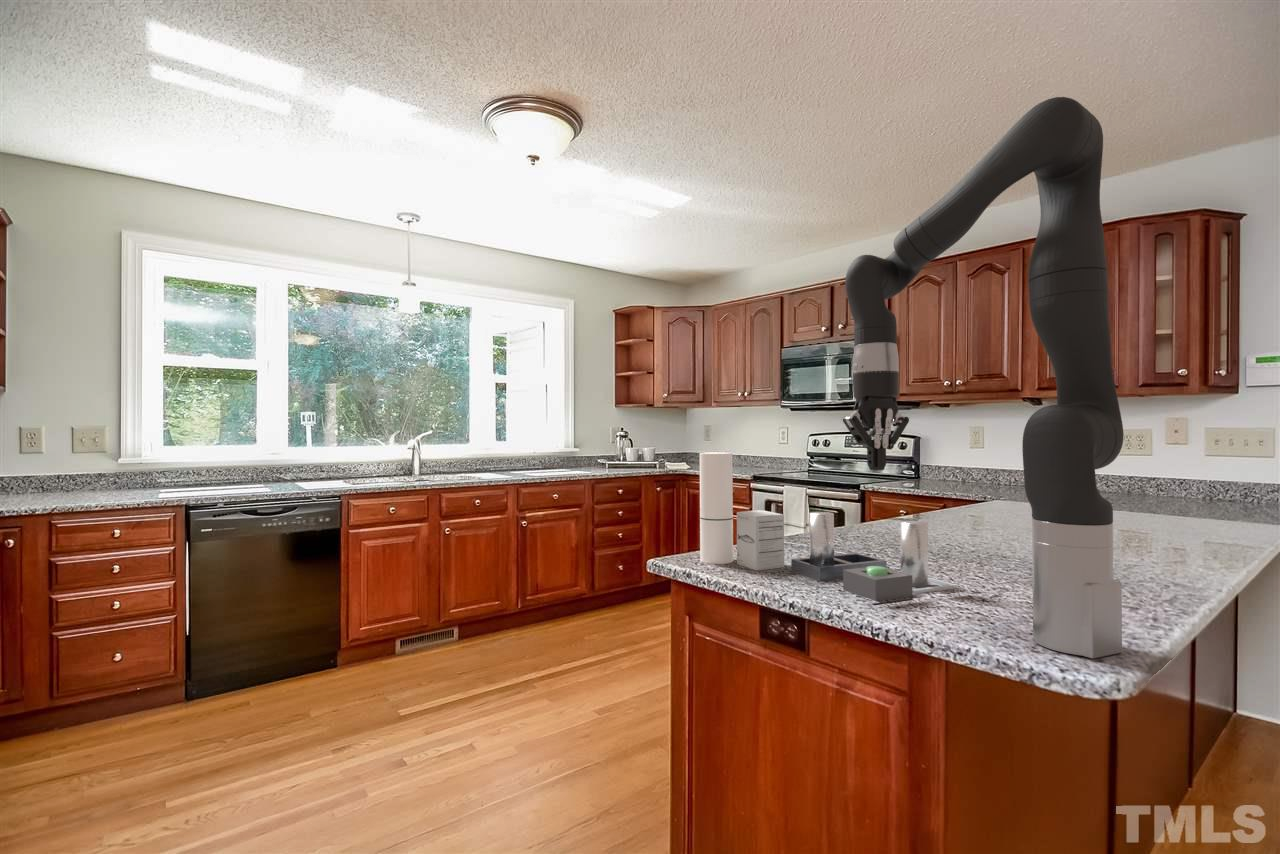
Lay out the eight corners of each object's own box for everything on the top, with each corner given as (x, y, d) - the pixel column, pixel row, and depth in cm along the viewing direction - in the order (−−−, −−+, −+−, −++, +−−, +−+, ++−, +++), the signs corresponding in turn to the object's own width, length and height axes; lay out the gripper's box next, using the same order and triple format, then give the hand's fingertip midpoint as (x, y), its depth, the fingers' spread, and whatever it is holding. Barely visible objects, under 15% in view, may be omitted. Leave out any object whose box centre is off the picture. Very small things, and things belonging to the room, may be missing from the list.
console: (912, 604, 107) (912, 575, 107) (875, 609, 104) (875, 579, 104) (878, 593, 114) (878, 566, 114) (843, 598, 111) (843, 569, 111)
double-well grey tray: (886, 581, 123) (886, 561, 123) (820, 589, 117) (819, 568, 117) (855, 571, 132) (855, 552, 132) (791, 578, 126) (791, 559, 126)
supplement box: (735, 570, 134) (735, 511, 134) (764, 567, 137) (763, 509, 137) (756, 578, 127) (755, 515, 127) (785, 574, 130) (785, 513, 130)
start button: (891, 586, 108) (891, 569, 108) (876, 588, 107) (876, 570, 107) (877, 582, 111) (877, 565, 111) (862, 584, 110) (862, 567, 110)
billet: (933, 589, 114) (933, 523, 114) (914, 592, 112) (914, 525, 112) (914, 583, 118) (913, 520, 118) (895, 586, 116) (894, 521, 116)
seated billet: (839, 575, 122) (838, 514, 122) (819, 578, 120) (819, 515, 120) (824, 570, 126) (823, 511, 126) (805, 573, 124) (804, 512, 124)
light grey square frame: (957, 596, 112) (957, 585, 112) (914, 602, 108) (914, 590, 108) (914, 583, 121) (914, 573, 121) (873, 588, 118) (873, 578, 118)
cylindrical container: (732, 563, 140) (731, 452, 140) (734, 571, 133) (733, 453, 133) (700, 563, 141) (699, 452, 141) (700, 570, 134) (699, 453, 134)
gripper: (859, 367, 104) (860, 471, 104) (921, 370, 109) (922, 470, 108) (830, 372, 111) (831, 470, 111) (890, 374, 116) (891, 468, 115)
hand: (876, 469), depth 109 cm, fingers closed
